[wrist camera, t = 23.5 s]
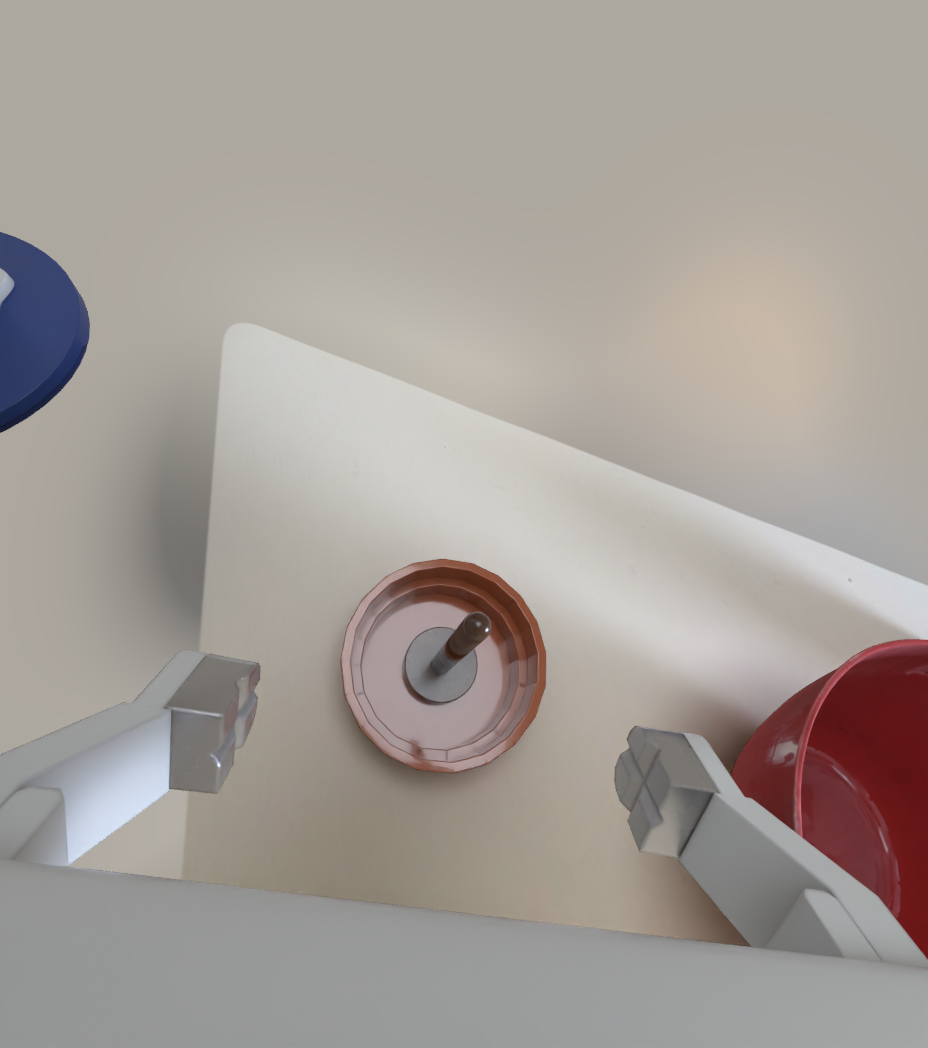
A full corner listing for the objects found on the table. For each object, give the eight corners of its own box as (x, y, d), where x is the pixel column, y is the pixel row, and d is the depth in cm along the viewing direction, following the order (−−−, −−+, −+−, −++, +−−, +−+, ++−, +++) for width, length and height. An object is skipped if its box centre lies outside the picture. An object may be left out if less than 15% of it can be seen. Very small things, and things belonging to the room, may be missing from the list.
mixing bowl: (689, 618, 47) (821, 567, 34) (952, 751, 47) (1198, 755, 33) (610, 959, 35) (769, 1101, 21) (969, 1149, 34) (1379, 1426, 20)
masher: (387, 669, 40) (400, 625, 25) (436, 617, 42) (474, 549, 27) (440, 720, 39) (486, 707, 24) (486, 664, 41) (554, 621, 26)
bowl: (305, 673, 39) (295, 662, 34) (432, 549, 46) (441, 523, 40) (443, 814, 37) (456, 826, 31) (556, 662, 43) (583, 651, 38)
